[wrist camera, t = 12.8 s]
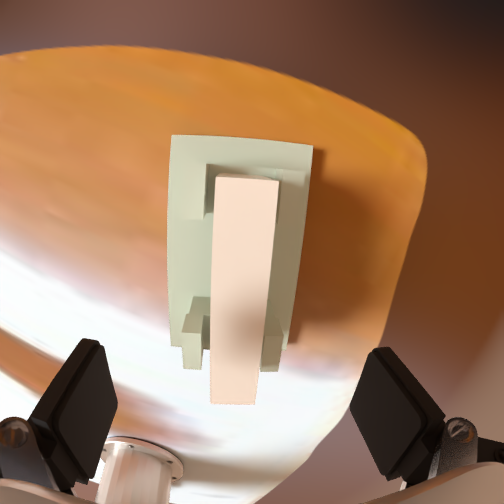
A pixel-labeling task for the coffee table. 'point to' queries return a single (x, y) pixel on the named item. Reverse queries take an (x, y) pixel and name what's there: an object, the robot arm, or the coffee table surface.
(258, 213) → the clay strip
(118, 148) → the coffee table surface
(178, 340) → the grey mounting plate
